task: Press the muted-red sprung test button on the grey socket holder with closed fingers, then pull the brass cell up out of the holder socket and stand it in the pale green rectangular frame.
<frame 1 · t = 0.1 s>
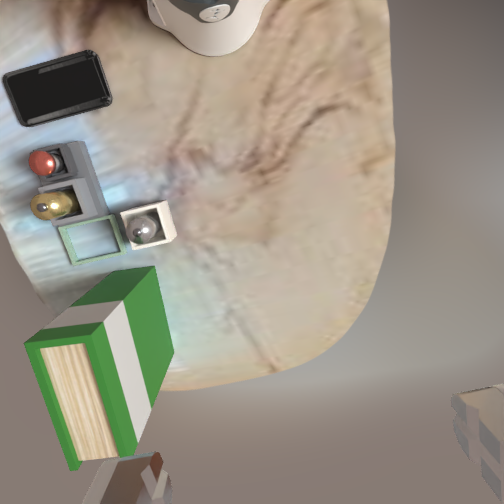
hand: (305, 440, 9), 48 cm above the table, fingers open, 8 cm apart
phone: (61, 90, 51), on the table
cell: (73, 200, 53), point 2 cm above the table, touching grey socket holder
pale green rectangular frame: (95, 239, 56), on the table
hardback book: (145, 312, 60), on the table
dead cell: (153, 222, 55), resting on white square bin
white square bin: (154, 221, 56), on the table
grey socket holder: (74, 184, 54), on the table
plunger: (47, 163, 48), point 5 cm above the table, slide at 0.0 cm
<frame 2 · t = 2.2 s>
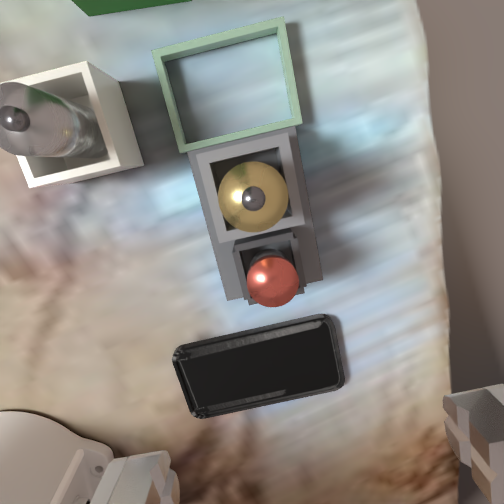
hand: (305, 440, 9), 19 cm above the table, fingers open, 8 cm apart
phone: (259, 362, 31), on the table
cell: (251, 187, 24), point 2 cm above the table, touching grey socket holder
pale green rectangular frame: (230, 91, 24), on the table
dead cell: (90, 133, 25), resting on white square bin
white square bin: (93, 134, 25), on the table
grey socket holder: (257, 215, 27), on the table
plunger: (271, 274, 23), point 5 cm above the table, slide at 0.0 cm
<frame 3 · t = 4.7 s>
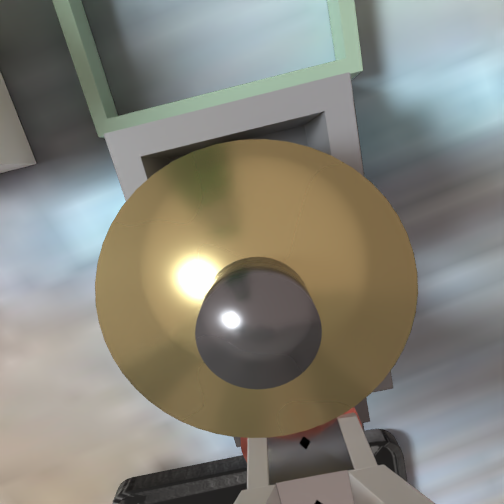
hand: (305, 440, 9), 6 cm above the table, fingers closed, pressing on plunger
phone: (265, 499, 18), on the table
cell: (251, 209, 11), point 2 cm above the table, touching grey socket holder
pale green rectangular frame: (205, 5, 11), on the table
grey socket holder: (264, 259, 14), on the table
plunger: (293, 398, 11), point 4 cm above the table, slide at -0.7 cm, touching gripper
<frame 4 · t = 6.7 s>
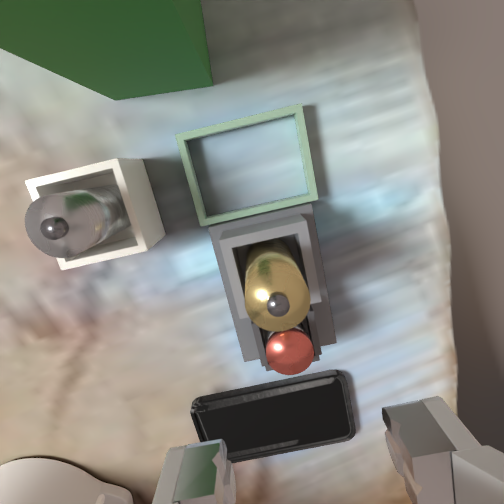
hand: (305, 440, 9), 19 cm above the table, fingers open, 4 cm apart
phone: (273, 412, 32), on the table
cell: (269, 259, 25), point 2 cm above the table, touching grey socket holder
pale green rectangular frame: (248, 167, 26), on the table
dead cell: (115, 207, 26), resting on white square bin
white square bin: (117, 206, 26), on the table
grey socket holder: (274, 279, 28), on the table
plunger: (287, 341, 25), point 4 cm above the table, slide at -0.8 cm
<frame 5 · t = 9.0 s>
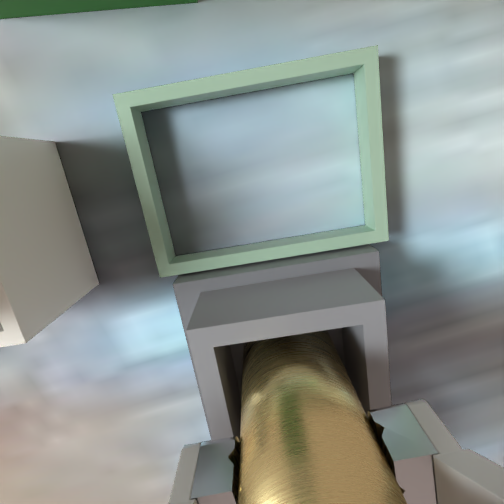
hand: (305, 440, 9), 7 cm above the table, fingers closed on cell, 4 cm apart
cell: (287, 347, 13), point 2 cm above the table, touching grey socket holder, gripper
pale green rectangular frame: (258, 171, 13), on the table
white square bin: (8, 228, 14), on the table
grey socket holder: (289, 369, 16), on the table
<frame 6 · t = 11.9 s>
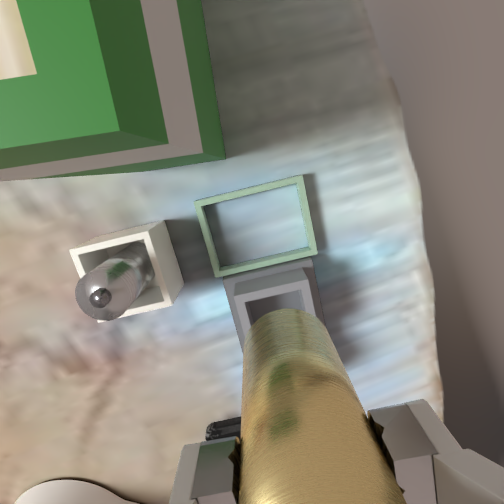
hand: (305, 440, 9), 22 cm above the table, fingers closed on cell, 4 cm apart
phone: (279, 435, 36), on the table
cell: (287, 348, 13), point 17 cm above the table, touching gripper
pale green rectangular frame: (256, 226, 29), on the table
hardback book: (161, 51, 26), on the table
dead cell: (140, 261, 29), resting on white square bin
white square bin: (142, 260, 30), on the table
grey socket holder: (279, 320, 32), on the table
when the fingers open (6 cm above the table, at t = 14.9 s): cell drops 1 cm, resting in pale green rectangular frame.
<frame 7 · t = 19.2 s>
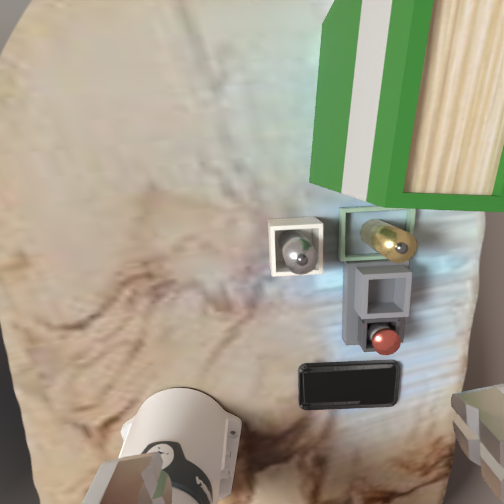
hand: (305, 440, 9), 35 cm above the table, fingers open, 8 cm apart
phone: (346, 381, 50), on the table
cell: (373, 232, 43), resting in pale green rectangular frame
pale green rectangular frame: (374, 231, 43), on the table
hardback book: (345, 109, 39), on the table
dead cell: (292, 241, 43), resting on white square bin
white square bin: (291, 240, 44), on the table
grey socket holder: (371, 298, 46), on the table
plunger: (382, 336, 43), point 4 cm above the table, slide at -0.8 cm
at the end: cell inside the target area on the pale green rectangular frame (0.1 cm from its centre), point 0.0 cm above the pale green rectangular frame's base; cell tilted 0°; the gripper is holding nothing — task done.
